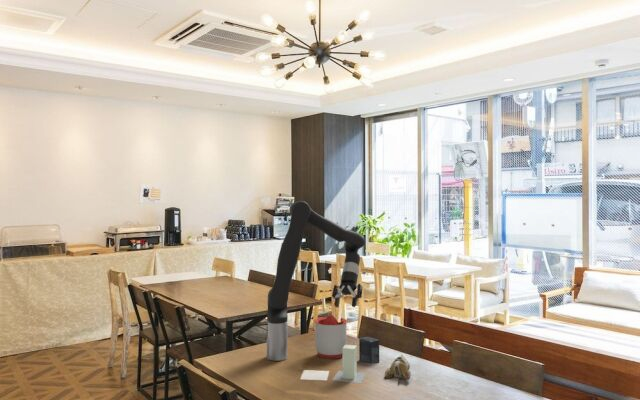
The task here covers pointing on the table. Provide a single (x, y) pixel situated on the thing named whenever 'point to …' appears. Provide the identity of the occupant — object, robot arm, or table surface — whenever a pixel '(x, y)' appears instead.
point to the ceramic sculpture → (399, 369)
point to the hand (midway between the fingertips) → (344, 306)
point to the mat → (314, 375)
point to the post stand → (357, 379)
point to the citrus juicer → (330, 337)
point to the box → (369, 350)
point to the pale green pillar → (349, 362)
